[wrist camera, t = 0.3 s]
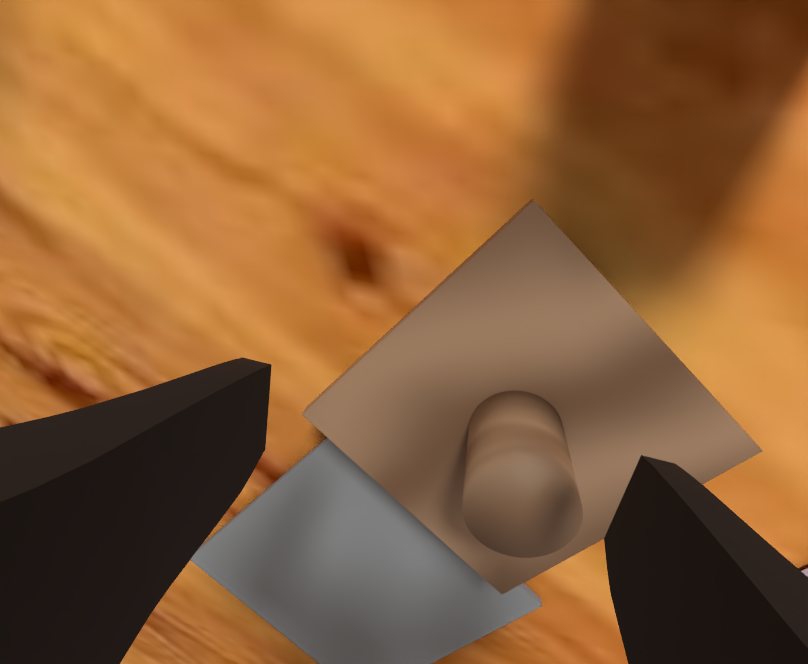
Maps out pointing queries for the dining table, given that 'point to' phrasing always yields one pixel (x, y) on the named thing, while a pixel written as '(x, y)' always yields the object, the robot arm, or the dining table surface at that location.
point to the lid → (523, 405)
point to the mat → (353, 570)
